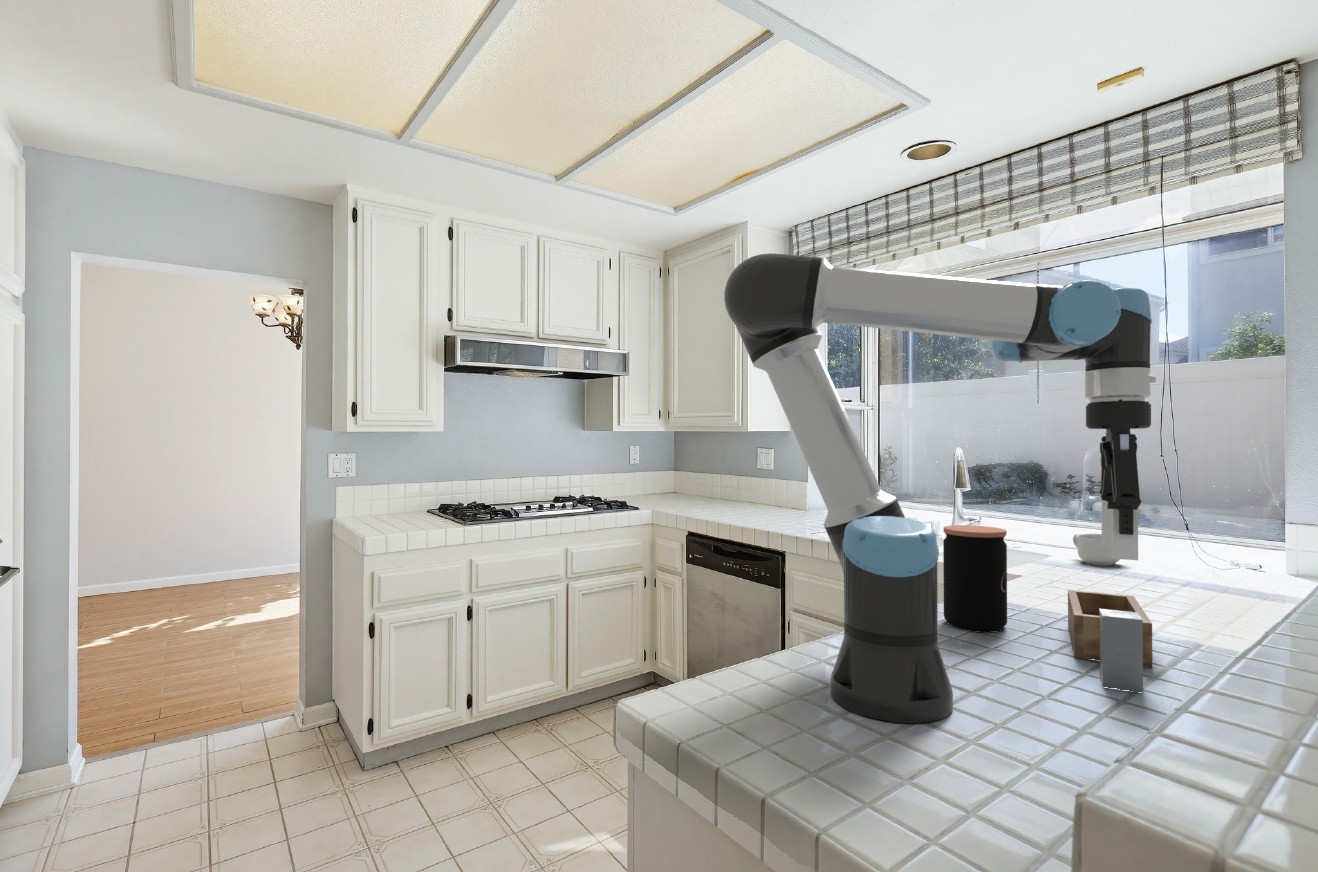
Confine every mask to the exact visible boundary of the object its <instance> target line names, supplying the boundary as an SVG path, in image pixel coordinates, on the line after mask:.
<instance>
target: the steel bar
mask: <svg viewBox="0 0 1318 872" xmlns="http://www.w3.org/2000/svg"><path fill="white" fill-rule="evenodd" d="M1099 629H1100V662H1099V680H1100V679H1101V680H1100V683H1101V682H1102V683H1101V687H1102V686H1103V687H1108V688H1117V689H1120V690H1129V691H1133V692H1143V693H1144V668H1143V628H1142V619H1141V617H1140V615H1139V614H1138V613H1137V612H1127V611H1118V610H1108V609H1099ZM1103 687H1102V688H1103Z"/></svg>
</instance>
